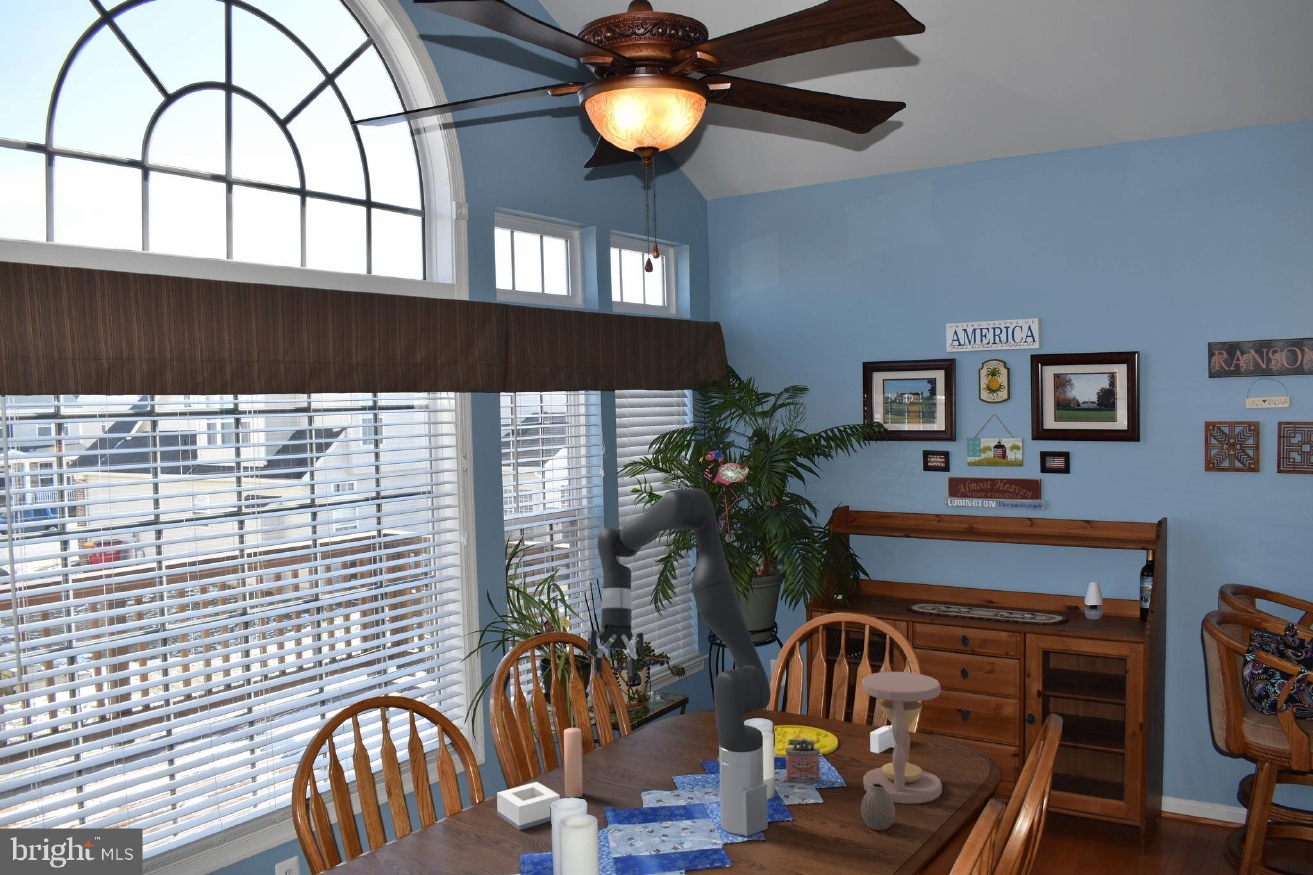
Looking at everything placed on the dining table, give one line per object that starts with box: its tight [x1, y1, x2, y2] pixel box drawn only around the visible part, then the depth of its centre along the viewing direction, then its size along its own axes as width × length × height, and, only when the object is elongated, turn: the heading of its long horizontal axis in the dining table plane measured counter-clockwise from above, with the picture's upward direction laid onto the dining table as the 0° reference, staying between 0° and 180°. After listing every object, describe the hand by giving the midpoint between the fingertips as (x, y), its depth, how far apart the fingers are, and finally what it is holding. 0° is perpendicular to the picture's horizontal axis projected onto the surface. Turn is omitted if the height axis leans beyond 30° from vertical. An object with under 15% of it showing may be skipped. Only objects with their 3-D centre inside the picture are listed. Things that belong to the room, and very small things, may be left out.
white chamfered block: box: [869, 724, 895, 754], centre depth 249 cm, size 15×11×6 cm
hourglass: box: [861, 671, 943, 805], centre depth 221 cm, size 18×18×25 cm
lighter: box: [785, 738, 821, 785], centre depth 227 cm, size 8×3×10 cm, turn 84°
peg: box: [563, 727, 584, 798], centre depth 221 cm, size 4×4×15 cm
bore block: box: [496, 781, 561, 831], centre depth 209 cm, size 10×10×5 cm
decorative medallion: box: [773, 724, 839, 758], centre depth 254 cm, size 24×24×2 cm
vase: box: [860, 783, 896, 831], centre depth 201 cm, size 7×7×9 cm
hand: (615, 674), depth 234 cm, fingers open, 8 cm apart
